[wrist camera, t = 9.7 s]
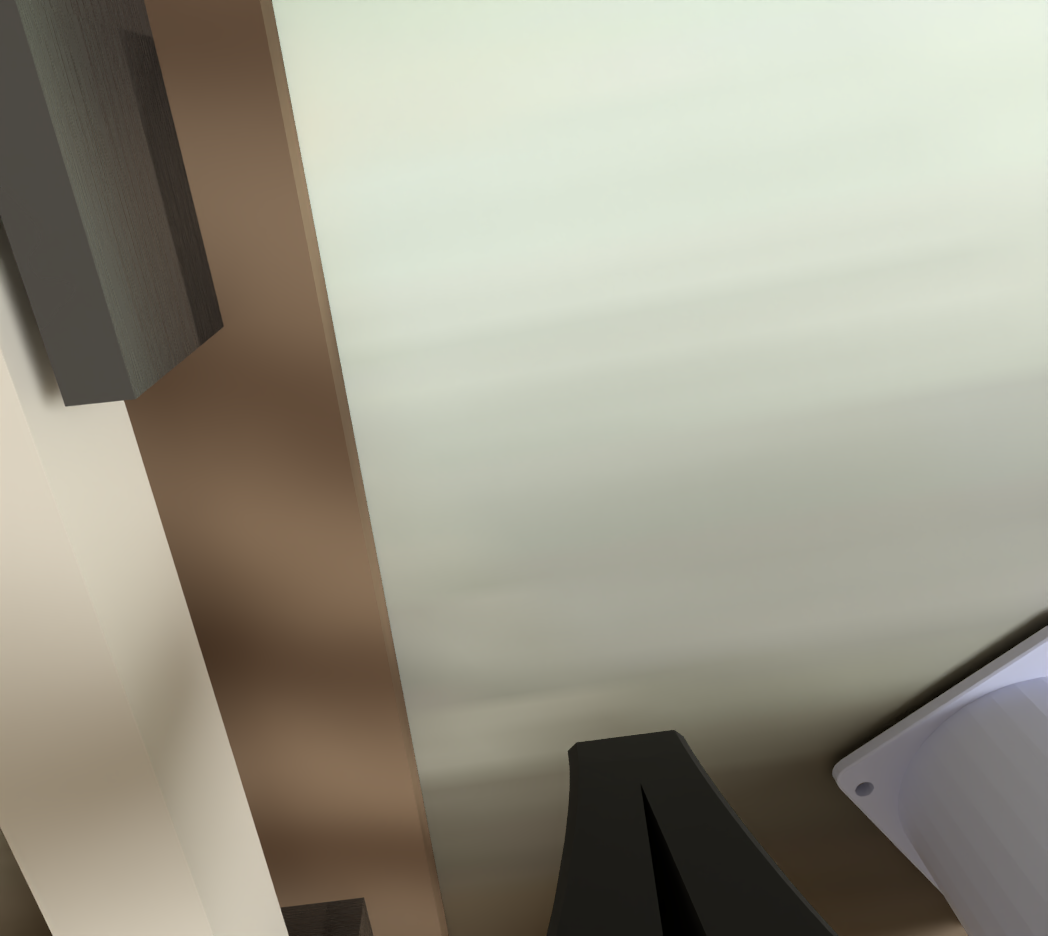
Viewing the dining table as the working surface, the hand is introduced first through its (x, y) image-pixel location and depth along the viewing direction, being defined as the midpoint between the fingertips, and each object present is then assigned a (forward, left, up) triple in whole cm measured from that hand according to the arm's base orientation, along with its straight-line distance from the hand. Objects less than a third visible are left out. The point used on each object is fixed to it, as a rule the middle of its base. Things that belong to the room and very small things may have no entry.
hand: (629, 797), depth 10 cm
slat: (+3, +10, -7) cm, 12 cm away
